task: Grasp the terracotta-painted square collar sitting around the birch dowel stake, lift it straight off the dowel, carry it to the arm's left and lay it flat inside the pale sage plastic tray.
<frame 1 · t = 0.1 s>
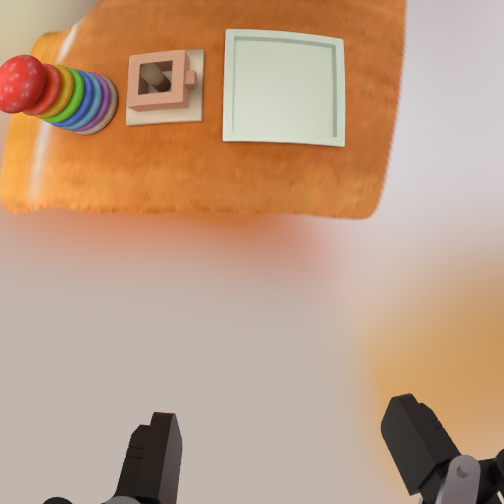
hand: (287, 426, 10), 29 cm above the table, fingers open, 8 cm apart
tray: (283, 87, 32), on the table
stacking toy: (92, 105, 31), on the table
stake: (166, 88, 31), on the table
collar: (163, 85, 30), point 1 cm above the table, touching stake
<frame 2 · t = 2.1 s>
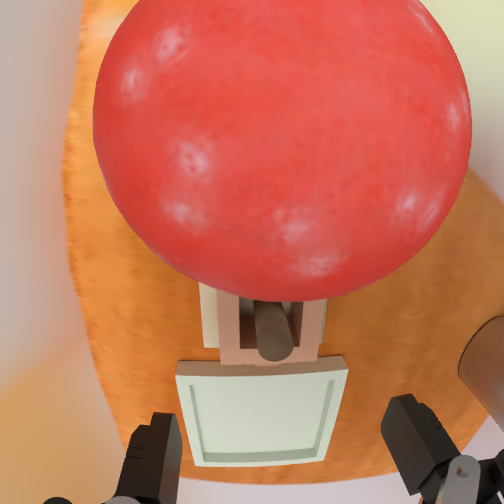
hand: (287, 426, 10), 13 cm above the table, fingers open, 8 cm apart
tray: (260, 414, 26), on the table
stacking toy: (249, 143, 20), on the table
stake: (263, 284, 22), on the table
collar: (265, 293, 21), point 1 cm above the table, touching stake
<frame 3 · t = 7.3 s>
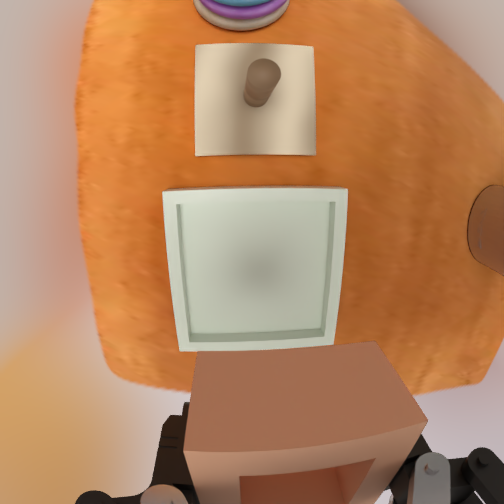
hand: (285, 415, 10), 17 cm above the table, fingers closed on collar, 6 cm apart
tray: (255, 268, 26), on the table
stake: (254, 99, 22), on the table
collar: (285, 409, 10), point 16 cm above the table, touching gripper
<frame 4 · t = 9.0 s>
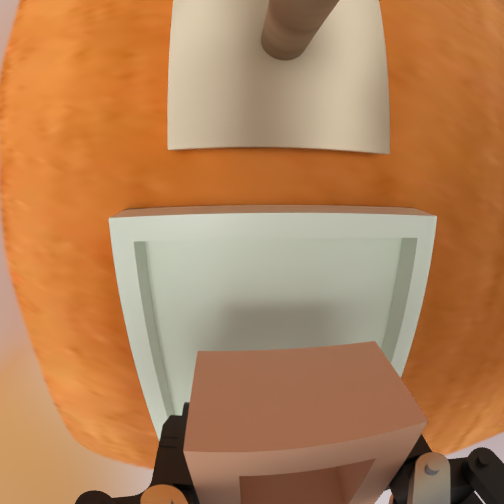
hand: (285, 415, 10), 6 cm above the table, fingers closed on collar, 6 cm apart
tray: (275, 340, 15), on the table
stake: (278, 52, 11), on the table
collar: (285, 410, 10), point 5 cm above the table, touching gripper
when the fingers open (3 cm above the table, at t = 10.4 s): collar drops 2 cm, resting on tray.
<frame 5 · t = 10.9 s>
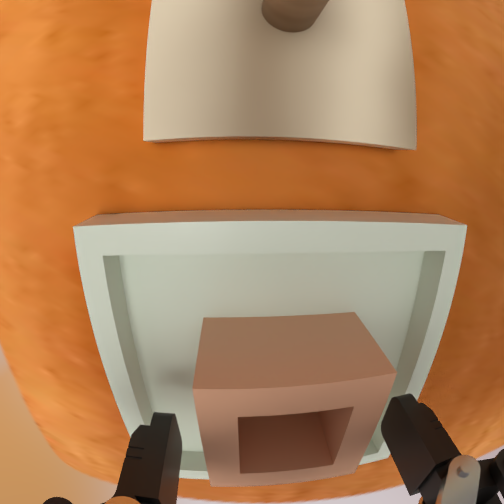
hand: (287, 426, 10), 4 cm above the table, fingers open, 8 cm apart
tray: (275, 366, 13), on the table
stake: (282, 27, 9), on the table
collar: (278, 374, 12), point 1 cm above the table, touching tray
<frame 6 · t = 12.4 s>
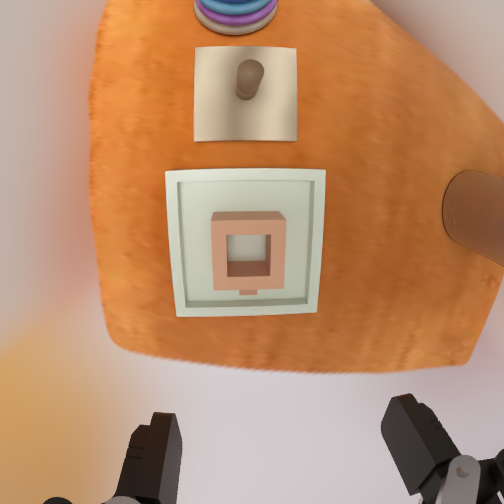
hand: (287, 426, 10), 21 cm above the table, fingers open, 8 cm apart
tray: (245, 241, 29), on the table
stacking toy: (235, 6, 22), on the table
stake: (245, 94, 25), on the table
collar: (246, 242, 29), point 1 cm above the table, touching tray
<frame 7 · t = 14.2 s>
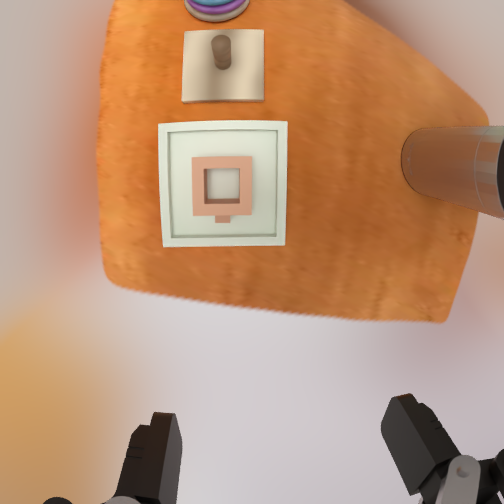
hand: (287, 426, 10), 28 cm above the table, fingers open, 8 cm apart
tray: (223, 182, 34), on the table
stacking toy: (217, 0, 27), on the table
stake: (223, 66, 30), on the table
collar: (223, 182, 34), point 1 cm above the table, touching tray
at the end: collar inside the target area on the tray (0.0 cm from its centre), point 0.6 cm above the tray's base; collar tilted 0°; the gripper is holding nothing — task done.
